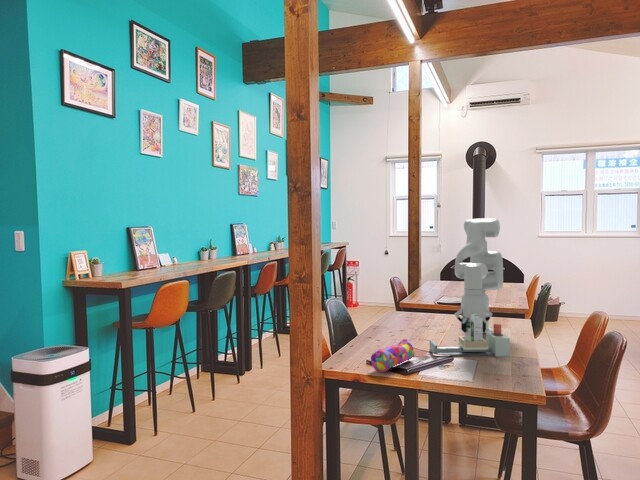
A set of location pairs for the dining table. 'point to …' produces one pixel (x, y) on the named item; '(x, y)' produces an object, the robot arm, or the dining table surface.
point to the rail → (457, 351)
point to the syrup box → (474, 328)
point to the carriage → (472, 345)
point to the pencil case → (392, 356)
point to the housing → (498, 343)
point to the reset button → (497, 329)
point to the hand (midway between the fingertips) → (473, 331)
